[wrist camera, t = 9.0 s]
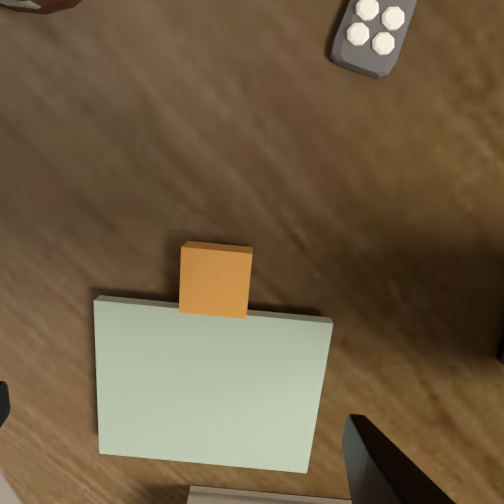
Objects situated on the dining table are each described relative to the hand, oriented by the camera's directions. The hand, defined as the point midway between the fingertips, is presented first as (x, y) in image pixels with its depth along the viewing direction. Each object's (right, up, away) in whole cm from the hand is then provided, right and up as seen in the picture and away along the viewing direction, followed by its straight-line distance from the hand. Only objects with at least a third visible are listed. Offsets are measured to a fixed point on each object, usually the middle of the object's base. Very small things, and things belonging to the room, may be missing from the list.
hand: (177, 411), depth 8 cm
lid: (-1, -3, +13) cm, 14 cm away
